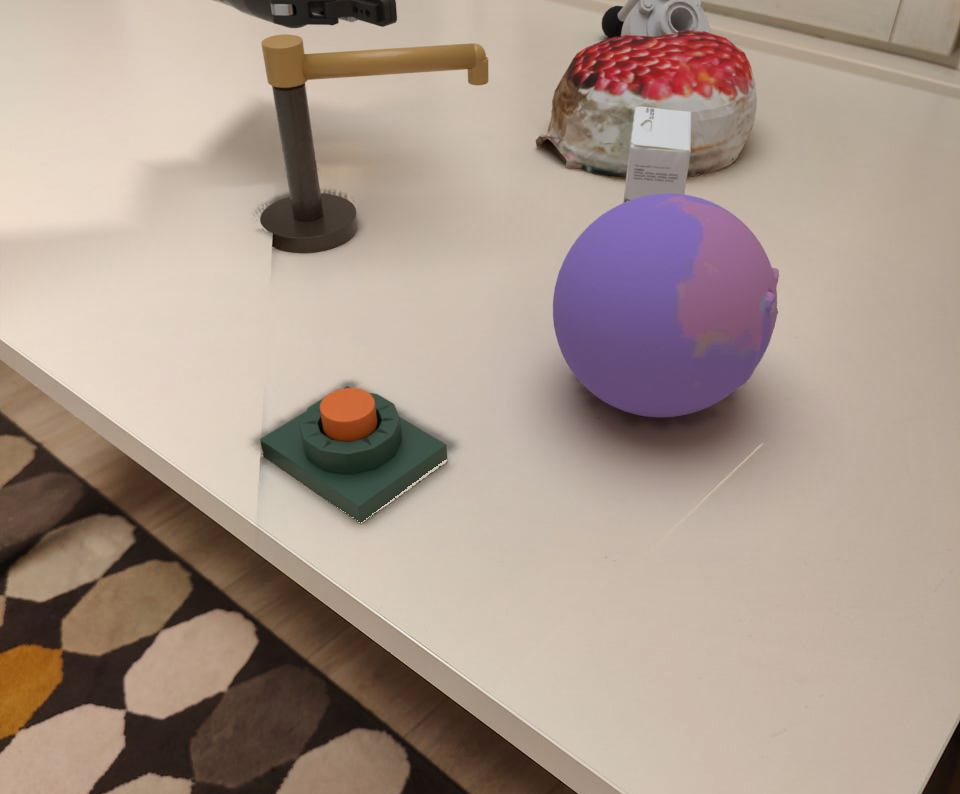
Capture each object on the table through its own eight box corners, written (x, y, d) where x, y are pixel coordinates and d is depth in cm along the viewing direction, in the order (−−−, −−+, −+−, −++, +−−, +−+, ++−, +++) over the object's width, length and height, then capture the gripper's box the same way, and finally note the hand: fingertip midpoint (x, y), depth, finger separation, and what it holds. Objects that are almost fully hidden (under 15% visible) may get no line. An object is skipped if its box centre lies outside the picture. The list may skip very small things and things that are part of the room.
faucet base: (260, 256, 86) (231, 107, 77) (264, 211, 93) (237, 69, 83) (359, 248, 87) (342, 100, 78) (356, 203, 93) (340, 62, 84)
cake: (653, 79, 116) (662, -9, 110) (794, 150, 101) (815, 52, 94) (491, 119, 108) (491, 26, 101) (618, 203, 92) (628, 100, 86)
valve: (657, 124, 130) (645, 14, 129) (727, 63, 110) (712, -67, 110) (587, 127, 127) (573, 15, 127) (645, 66, 108) (630, -67, 108)
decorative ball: (752, 476, 63) (799, 279, 53) (531, 444, 66) (536, 251, 56) (758, 350, 74) (799, 165, 64) (568, 327, 77) (578, 147, 66)
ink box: (673, 281, 82) (691, 148, 73) (615, 277, 82) (627, 145, 74) (675, 234, 88) (692, 106, 80) (621, 230, 88) (633, 103, 80)
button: (311, 426, 63) (308, 405, 62) (352, 401, 65) (349, 380, 64) (348, 449, 61) (345, 428, 60) (388, 423, 63) (386, 402, 62)
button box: (263, 457, 65) (254, 418, 63) (350, 403, 70) (344, 365, 67) (361, 525, 60) (355, 485, 58) (447, 463, 65) (445, 423, 62)
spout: (269, 103, 80) (260, 49, 77) (270, 88, 82) (261, 35, 79) (491, 88, 81) (490, 34, 78) (485, 74, 84) (485, 21, 81)
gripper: (202, -53, 86) (328, -18, 77) (315, -79, 93) (441, -51, 84) (219, 35, 91) (338, 76, 82) (324, 3, 98) (444, 38, 89)
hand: (390, 12), depth 83 cm, fingers closed
